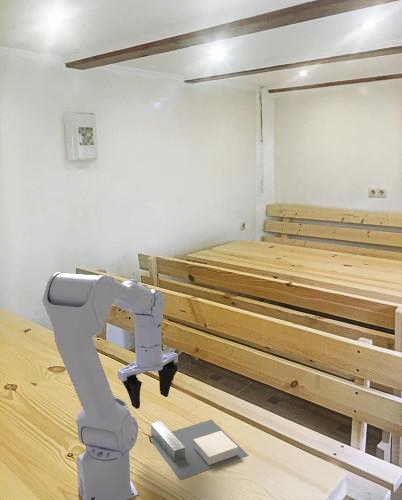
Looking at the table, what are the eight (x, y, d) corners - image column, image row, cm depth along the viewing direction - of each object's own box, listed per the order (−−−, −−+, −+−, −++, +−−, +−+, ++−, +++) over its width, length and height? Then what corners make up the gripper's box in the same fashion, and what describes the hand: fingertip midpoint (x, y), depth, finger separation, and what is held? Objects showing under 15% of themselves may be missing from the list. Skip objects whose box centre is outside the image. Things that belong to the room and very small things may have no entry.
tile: (193, 447, 99) (209, 465, 93) (193, 439, 99) (208, 457, 92) (221, 438, 102) (238, 455, 96) (221, 430, 102) (238, 446, 96)
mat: (180, 481, 89) (180, 479, 89) (149, 440, 103) (149, 438, 103) (248, 456, 96) (248, 455, 96) (211, 421, 110) (211, 419, 110)
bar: (185, 457, 95) (174, 461, 94) (160, 430, 106) (151, 433, 104) (185, 447, 95) (174, 450, 94) (160, 420, 105) (150, 423, 104)
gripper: (129, 357, 91) (132, 419, 94) (185, 339, 101) (187, 396, 103) (111, 347, 97) (114, 406, 99) (166, 331, 106) (168, 385, 108)
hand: (150, 400), depth 101 cm, fingers open, 7 cm apart
